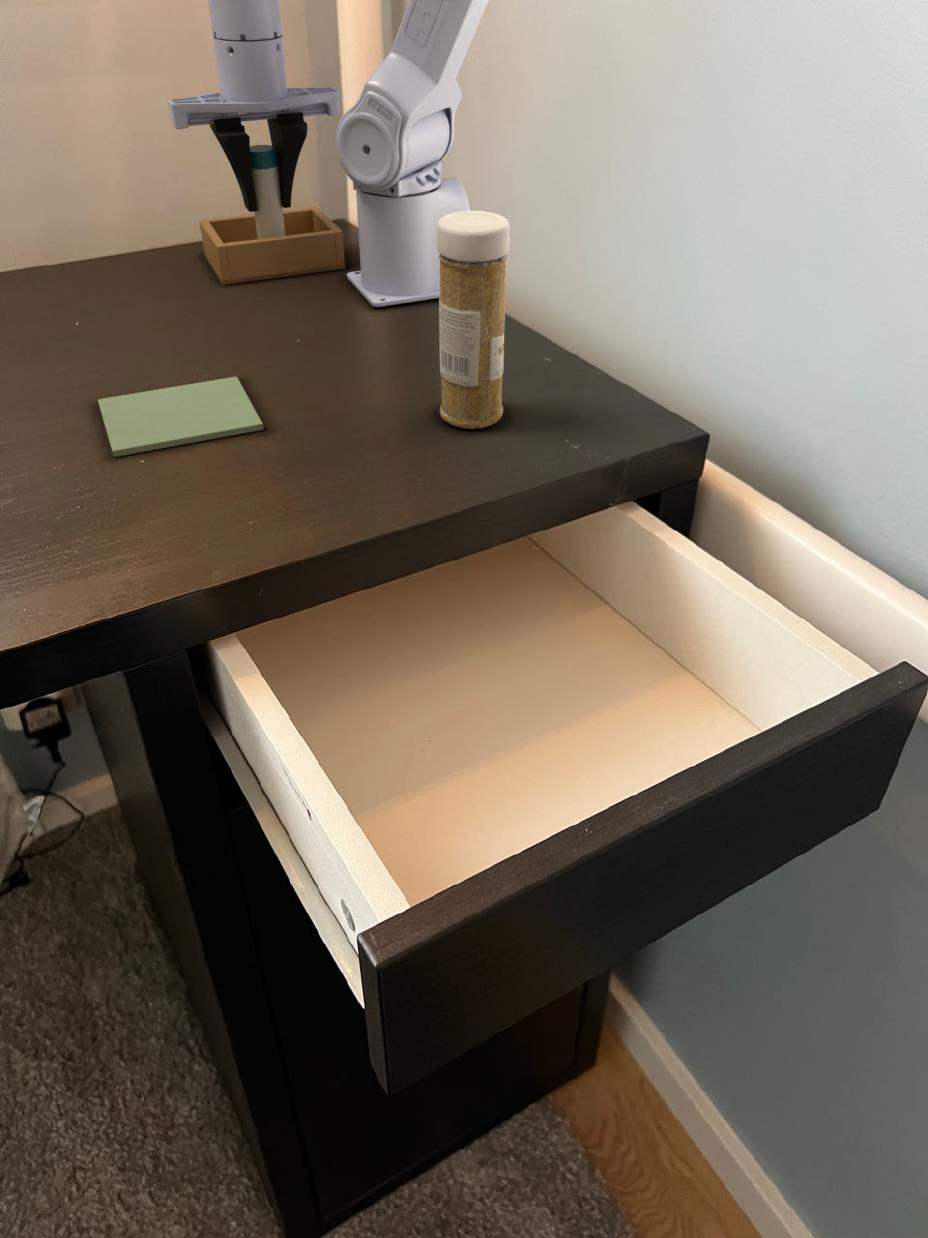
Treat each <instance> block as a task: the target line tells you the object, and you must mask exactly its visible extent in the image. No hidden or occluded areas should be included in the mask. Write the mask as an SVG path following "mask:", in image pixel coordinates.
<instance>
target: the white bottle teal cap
mask: <svg viewBox="0 0 928 1238" xmlns="http://www.w3.org/2000/svg"><path fill="white" fill-rule="evenodd" d="M250 158H251V171H252V179H253V184H254V189H255V195H256V200H257V211H256V212H253V214H255V221H256V229H257V237H258V239H263V238H272V237H280V236H286V235H285V226H284V218H283V211H284V208H283V207H282V200H281V191H280V182H279V173H278V159H277V150H276V147H274V146H272V144H271V145H270V144H256V145H250Z"/></svg>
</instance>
